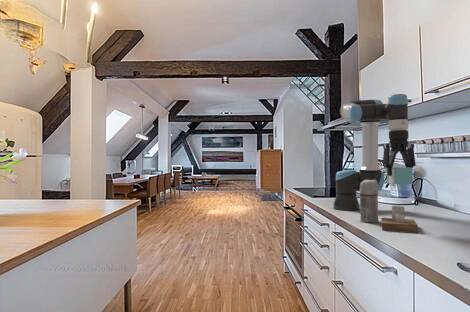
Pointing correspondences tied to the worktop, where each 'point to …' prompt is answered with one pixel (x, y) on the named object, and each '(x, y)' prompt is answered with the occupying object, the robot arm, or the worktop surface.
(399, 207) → the brown square board
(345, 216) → the worktop surface
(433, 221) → the worktop surface
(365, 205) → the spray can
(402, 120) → the robot arm
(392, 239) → the worktop surface
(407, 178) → the teal shadow box frame
